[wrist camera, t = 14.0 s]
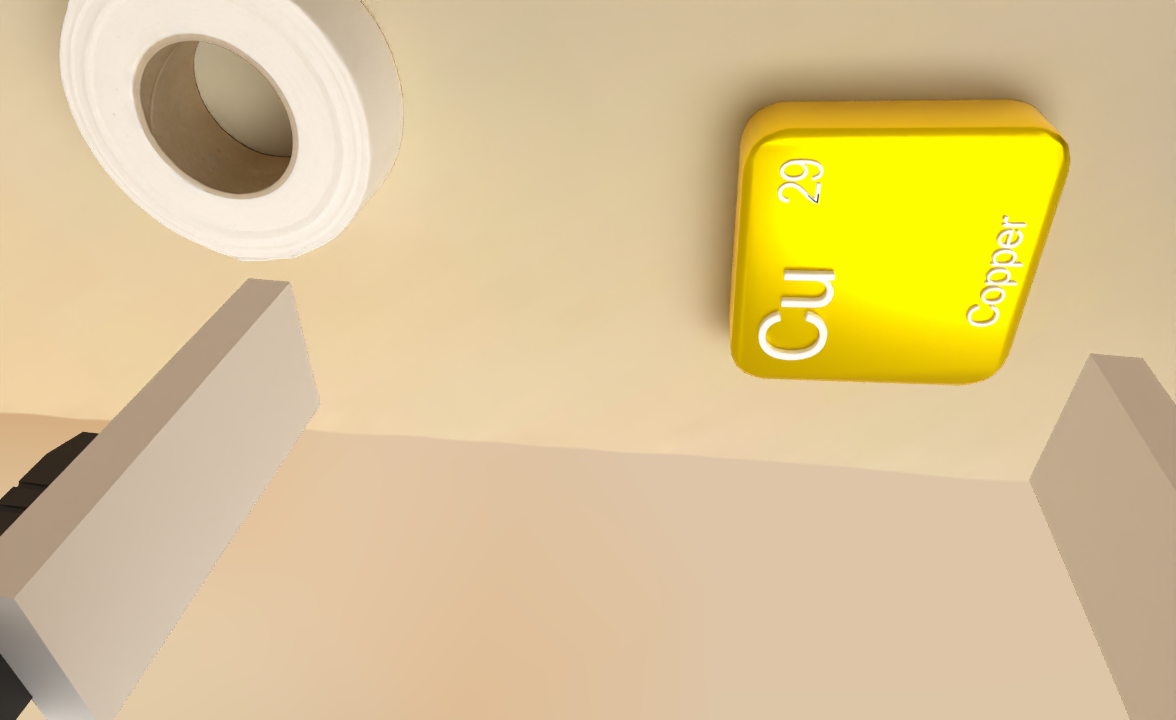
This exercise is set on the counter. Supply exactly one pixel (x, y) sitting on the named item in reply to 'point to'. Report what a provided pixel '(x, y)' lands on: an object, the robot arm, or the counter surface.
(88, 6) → the roll of tape
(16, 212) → the counter surface
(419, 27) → the counter surface
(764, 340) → the element tile
